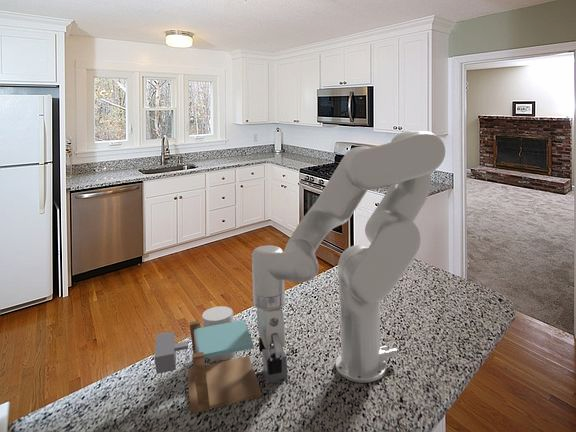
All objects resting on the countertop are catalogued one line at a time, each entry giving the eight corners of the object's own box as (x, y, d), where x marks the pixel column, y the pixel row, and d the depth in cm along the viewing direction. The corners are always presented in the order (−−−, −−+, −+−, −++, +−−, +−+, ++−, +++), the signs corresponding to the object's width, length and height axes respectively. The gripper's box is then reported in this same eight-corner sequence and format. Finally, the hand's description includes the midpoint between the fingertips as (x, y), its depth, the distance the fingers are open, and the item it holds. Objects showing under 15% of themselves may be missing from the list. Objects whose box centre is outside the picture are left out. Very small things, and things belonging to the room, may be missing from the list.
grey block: (282, 366, 97) (280, 345, 96) (287, 377, 93) (286, 356, 91) (263, 370, 96) (261, 349, 95) (268, 382, 91) (266, 360, 90)
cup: (242, 351, 105) (238, 311, 102) (218, 365, 99) (214, 323, 96) (223, 341, 110) (220, 303, 108) (200, 354, 104) (196, 314, 102)
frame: (249, 358, 101) (245, 312, 98) (261, 396, 86) (258, 344, 83) (188, 371, 97) (182, 323, 94) (190, 414, 82) (183, 359, 79)
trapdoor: (244, 329, 98) (243, 315, 97) (254, 356, 86) (253, 340, 85) (158, 346, 92) (156, 331, 91) (156, 377, 80) (154, 360, 79)
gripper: (294, 311, 83) (294, 380, 86) (275, 282, 99) (275, 340, 103) (261, 316, 81) (263, 386, 84) (246, 285, 97) (248, 345, 101)
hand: (270, 361), depth 93 cm, fingers open, 9 cm apart
